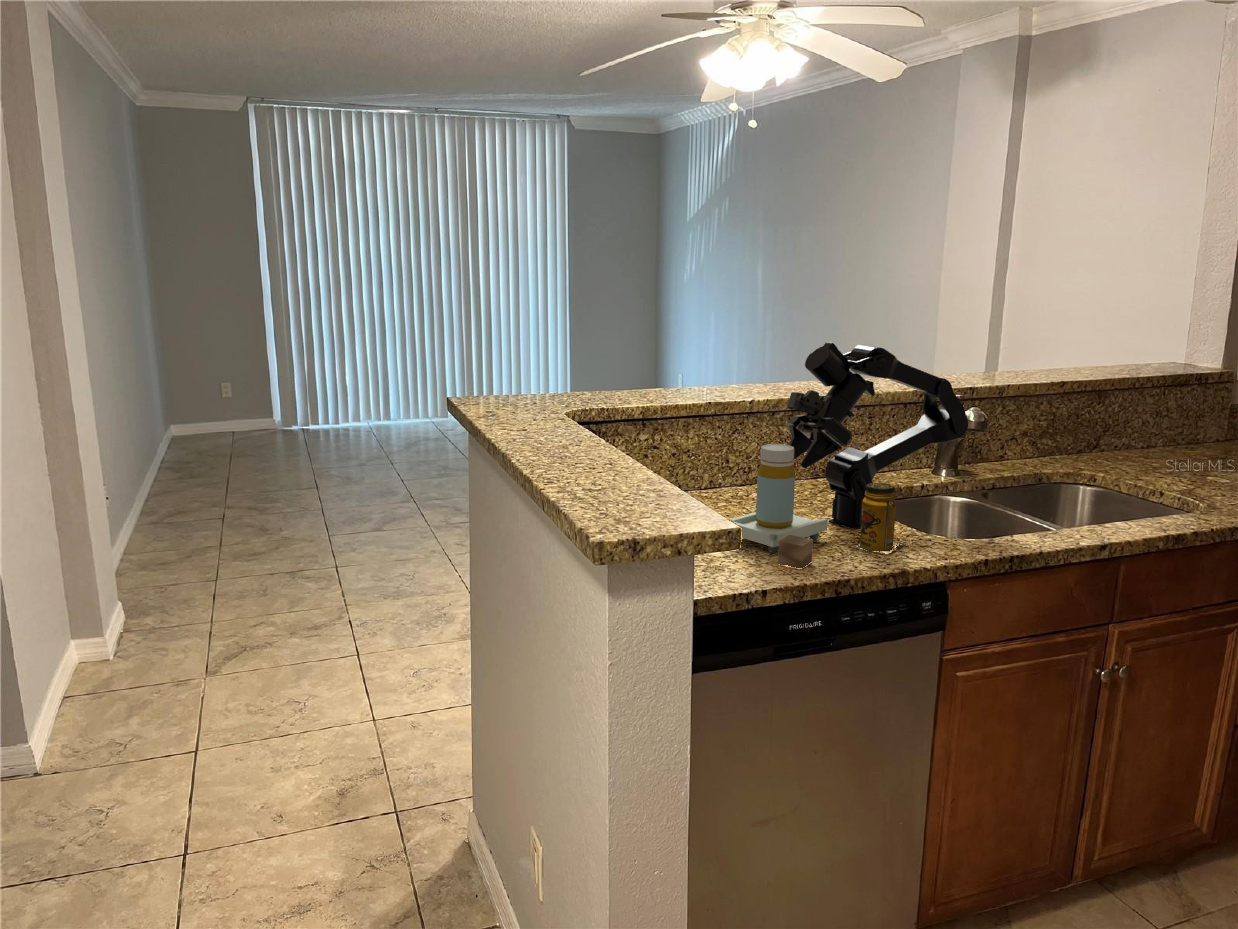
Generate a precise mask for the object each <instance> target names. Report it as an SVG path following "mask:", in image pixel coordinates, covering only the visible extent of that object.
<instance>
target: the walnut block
mask: <svg viewBox="0 0 1238 929" xmlns="http://www.w3.org/2000/svg"><path fill="white" fill-rule="evenodd" d="M813 547H814V540H813V539H810V538H808V537H804V538H803V537H798V536H793V535H789V536H787V537H785V538H784V539H782V540H780V541H779V550H778V552H777V553H778V554H777V565H778V564H780V565H788V566H791V567H796V568H803V567H805V566H806V565H808V564H809V563H810V562H812V563H813V549H814V548H813ZM808 566H809V565H808ZM805 568H806V567H805Z"/></svg>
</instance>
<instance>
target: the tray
mask: <svg viewBox="0 0 1238 929" xmlns="http://www.w3.org/2000/svg"><path fill="white" fill-rule="evenodd" d="M728 520H732V521H733V522H734V523H736V524H737V525H739V526H740V527H741V528H742V538H741V539H746V540H748V541H752V542H754V543H758V544H762V545H766V546H768V552H770V553H773V554H776V552H777V553H778V550H779V541H780V540H782V539H784V538H785V537H787V536H789V535H793V536H798V537H803V538H808V537H809V538H808V539H813V541H817V540H818V539H819V537H820V533H823V532H826V531H828V523H829V520H828V518H825V517H821V518H818V519H816V520H814V519H810V518H805V517H803V516H798V515H795V514H793V523H792V524H791V525H790V526H789V527H786V528H781V529H774V528H766V527H762V526H760V525H759V524H758V523H757V521H756V511H755V512H751V513H747V514H744V515H740V516H738V517H737V516H736V517H734V518H729V519H728Z"/></svg>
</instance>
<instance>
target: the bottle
mask: <svg viewBox="0 0 1238 929" xmlns="http://www.w3.org/2000/svg"><path fill="white" fill-rule="evenodd" d="M793 459H794V447H792V446H789V444H783V443H782V444H780V443H769V444H768V443H767V444H764V445H761V447H760V464H759V467H758V470H757V479H756V480H757V483H756V484H757V485H756V502H755V503H756V504H755V505H756V507H755V512H756V521H757V523H758V524H759V525H760V526H762V527H766V528H774V529H781V528H786V527H789V526H790V525H791V524H792V523H793V515H794V506H795V487H796V470H795V467H794V465H795V464H794V462H795V461H794V460H793Z"/></svg>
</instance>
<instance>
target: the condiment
mask: <svg viewBox="0 0 1238 929" xmlns="http://www.w3.org/2000/svg"><path fill="white" fill-rule="evenodd" d="M895 491H896V488H895V486H894V485H892V484H889V483H886V482H885V483H882V482H873V483H870V484H868V485H866V491H865V498H864V499H863V503H862V518H861V528H860V534H859V535H860V536H859V543H857V544H860V546H859V545H858V547H856V546H855V545H856V544H855V545H853V546H852V548H853V549H857V550H860V548H863V550H862V549H861V550H860V551H865V550H867V551H866V552H869V551H879V552H880V551H890V550H892V548H893V547H892V546H893V542H895V539H894V538H895V523H896V511H897V510H896V509H897V501H896V499H895V498H896V494H895ZM899 543H900V544H902V545H900V544H899V547H898V546H897V545H896V546H897V547H896V548H897V550H898V549H900V548H903V546H905V545H907V543H905V542H899ZM864 549H865V550H864ZM879 554H881V555H886V556H889V555H890V554H885V553H879Z"/></svg>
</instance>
